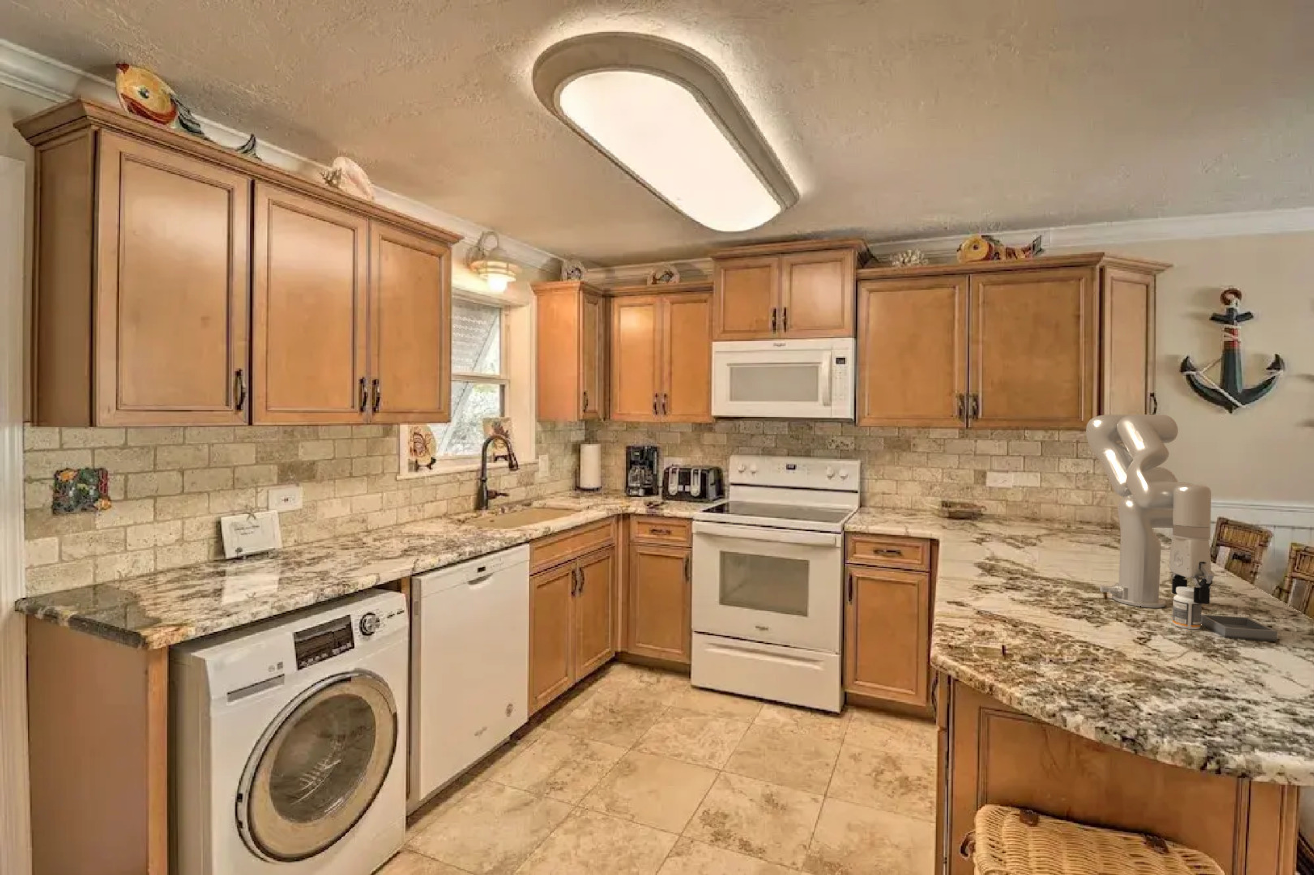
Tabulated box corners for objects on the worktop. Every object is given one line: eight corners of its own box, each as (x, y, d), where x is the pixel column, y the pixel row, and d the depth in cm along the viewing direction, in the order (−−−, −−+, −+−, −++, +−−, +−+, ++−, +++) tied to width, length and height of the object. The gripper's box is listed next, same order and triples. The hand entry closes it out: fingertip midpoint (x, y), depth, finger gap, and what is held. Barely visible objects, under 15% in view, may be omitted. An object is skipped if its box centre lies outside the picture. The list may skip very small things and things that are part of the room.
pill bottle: (1194, 624, 169) (1196, 587, 169) (1204, 631, 164) (1206, 592, 163) (1168, 621, 171) (1170, 584, 170) (1177, 628, 166) (1179, 590, 165)
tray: (1224, 637, 159) (1225, 627, 159) (1199, 623, 170) (1199, 614, 169) (1276, 641, 157) (1277, 631, 157) (1247, 626, 167) (1247, 617, 167)
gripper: (1156, 527, 175) (1155, 589, 175) (1194, 537, 158) (1193, 606, 158) (1188, 528, 173) (1187, 591, 174) (1229, 538, 157) (1228, 608, 157)
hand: (1190, 598), depth 166 cm, fingers open, 9 cm apart
